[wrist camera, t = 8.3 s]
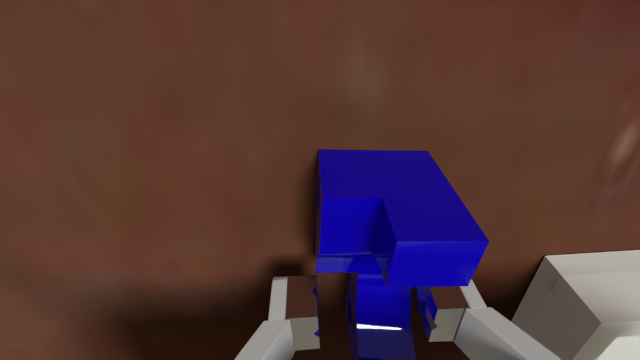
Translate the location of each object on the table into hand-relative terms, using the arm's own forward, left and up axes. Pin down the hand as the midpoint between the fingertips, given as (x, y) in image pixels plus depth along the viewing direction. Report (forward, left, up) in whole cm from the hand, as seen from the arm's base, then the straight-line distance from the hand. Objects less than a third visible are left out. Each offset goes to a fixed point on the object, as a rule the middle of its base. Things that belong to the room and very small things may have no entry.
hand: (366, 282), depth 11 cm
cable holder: (0, -1, -2) cm, 2 cm away
